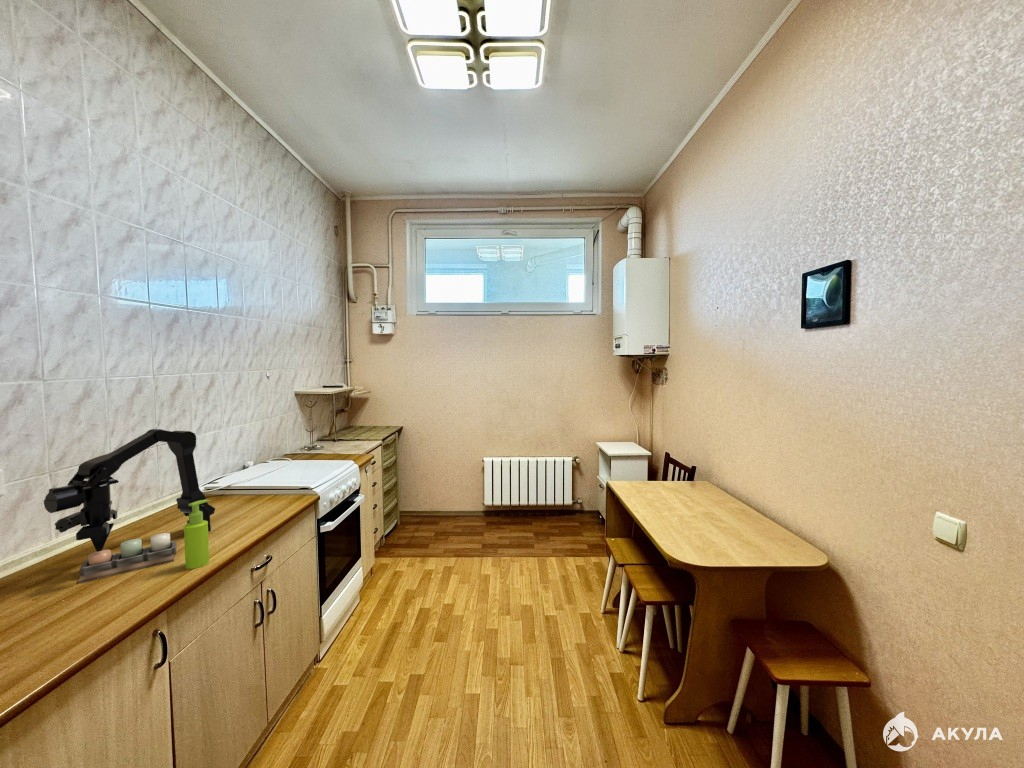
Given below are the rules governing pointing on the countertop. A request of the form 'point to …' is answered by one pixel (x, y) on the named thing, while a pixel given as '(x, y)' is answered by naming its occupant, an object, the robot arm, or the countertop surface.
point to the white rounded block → (160, 542)
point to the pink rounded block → (99, 557)
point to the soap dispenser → (196, 538)
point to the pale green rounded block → (131, 548)
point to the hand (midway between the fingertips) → (99, 551)
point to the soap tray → (127, 563)
